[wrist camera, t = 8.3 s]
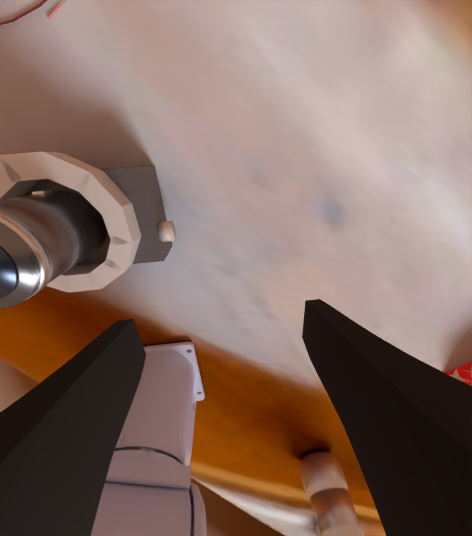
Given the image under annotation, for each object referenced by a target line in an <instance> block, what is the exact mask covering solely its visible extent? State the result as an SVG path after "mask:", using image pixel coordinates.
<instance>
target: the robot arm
mask: <svg viewBox="0 0 472 536" xmlns="http://www.w3.org/2000/svg"><path fill="white" fill-rule="evenodd" d="M302 338H303V340H304V343H305V346H306V349H307V352H308V354H309V357H310V360H311V362H312V364H313V366H314V368H315V370H316V372H317V374H318V376H319V378H320V380H321V382H322V384H323V386H324V388H325V390H326V391H327V393H328V395H329V397H330V399H331V401H332V403H333V405H334V407H335V409H336V411H337V413H338V415H339V417H340V419H341V422H342V424H343V426H344V428H345V430H346V433H347V435H348V437H349V440H350V442H351V445H352V447H353V450H354V452H355V455H356V457H357V460H358V462H359V465H360V467H361V470H362V472H363V475H364V477H365V480H366V483H367V485H368V488H369V490H370V493H371V495H372V498H373V501H374V503H375V506H376V509H377V511H378V514H379V517H380V519H381V522H382V525H383V528H384V530H385V533H386V536H472V386H471V385H469V384H466V383H464V382H462V381H460V380H458V379H456V378H454V377H452V376H450V375H448V374H445V373H443V372H441V371H440V370H438V369H436V368H434V367H432V366H430V365H428V364H426V363H424V362H422V361H420V360H418V359H416V358H414V357H412V356H411V355H409V354H407V353H405V352H403V351H402V350H400V349H398V348H396V347H395V346H393V345H391V344H390V343H388V342H386V341H384V340H383V339H381V338H379V337H378V336H376V335H374V334H373V333H371V332H370V331H368V330H366V329H365V328H363V327H362V326H360V325H359V324H357V323H355V322H354V321H352V320H351V319H349V318H348V317H346V316H345V315H343V314H342V313H340V312H339V311H337V310H336V309H334V308H333V307H331V306H330V305H328V304H327V303H325V302H324V301H322V300H320V299H317V300H308V301H306V302H305V313H304V324H303V335H302ZM188 349H190V350H188ZM204 398H205V394H204V389H203V385H202V380H201V376H200V372H199V367H198V363H197V358H196V354H195V349H194V345H193V343H192V342H181V343H172V344H163V345H154V346H145V347H143V344H142V341H141V339H140V336H139V333H138V331H137V328H136V325H135V322H134V320H133V319H129V320H120V321H117V322H116V323H114V324H113V325H112V326H110V327H109V328H108V329H107V330H105V331H104V332H103V333H102V334H101V335H99V336H98V337H97V338H96V339H95V340H93V341H92V342H91V343H90V344H89V345H87V346H86V347H85V348H84V349H82V350H81V351H80V352H79V353H78V354H76V355H75V356H74V357H73V358H72V359H70V360H69V361H68V362H67V363H65V364H64V365H63V366H62V367H60V368H59V369H58V370H56V371H55V372H54V373H53V374H51V375H50V376H49V377H47V378H46V379H45V380H44V381H42V382H41V383H40V384H39V385H37V386H36V387H35V388H33V389H32V390H31V391H29V392H28V393H27V394H25V395H24V396H23V397H21V398H20V399H19V400H17V401H16V402H14V403H13V404H12V405H10V406H9V407H7V408H6V409H5V410H3V411H2V412H0V536H206V513H205V506H204V502H203V499H202V497H201V494H200V491H199V488H198V486H197V485H196V484H193V483H190V482H191V471H192V467H191V466H188V465H189V463H190V459H191V453H192V442H193V431H194V421H195V410H196V401H200V400H203V399H204Z"/></svg>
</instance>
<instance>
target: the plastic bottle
mask: <svg viewBox="0 0 472 536" xmlns="http://www.w3.org/2000/svg"><path fill="white" fill-rule="evenodd" d="M300 475H301V481H302V484H303V486H304V489H305V492H306V494H307V496H308V498H309V500H310V503H311V506H312V509H313V512H314V515H315V518H316V521H317V524H318V527H319V530H320V532H321V536H364V533H363V531H362V529H361V526H360V524H359V521H358V518H357V515H356V512H355V509H354V507H353V504H352V501H351V498H350V495H349V492H348V487H347V483H346V480H345V476H344V473H343V470H342V468H341V466H340V464H339V463H338V461H337V459H336V458H335V457H334V456H333V455H332V454H331V453H329V452H315V453H311V454H309V455H307V456H305V457H304V458H302V460H301V462H300Z"/></svg>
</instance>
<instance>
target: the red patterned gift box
mask: <svg viewBox="0 0 472 536" xmlns="http://www.w3.org/2000/svg"><path fill="white" fill-rule="evenodd" d="M445 374H448V375H450V376H452V377H454V378H456V379H458V380H460V381H462V382H464V383H466V384H469V385H471V386H472V363H470V364H468V365H465V366H462V367H460V368H457V369H455V370H452V371H450V372H447V373H445Z"/></svg>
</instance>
